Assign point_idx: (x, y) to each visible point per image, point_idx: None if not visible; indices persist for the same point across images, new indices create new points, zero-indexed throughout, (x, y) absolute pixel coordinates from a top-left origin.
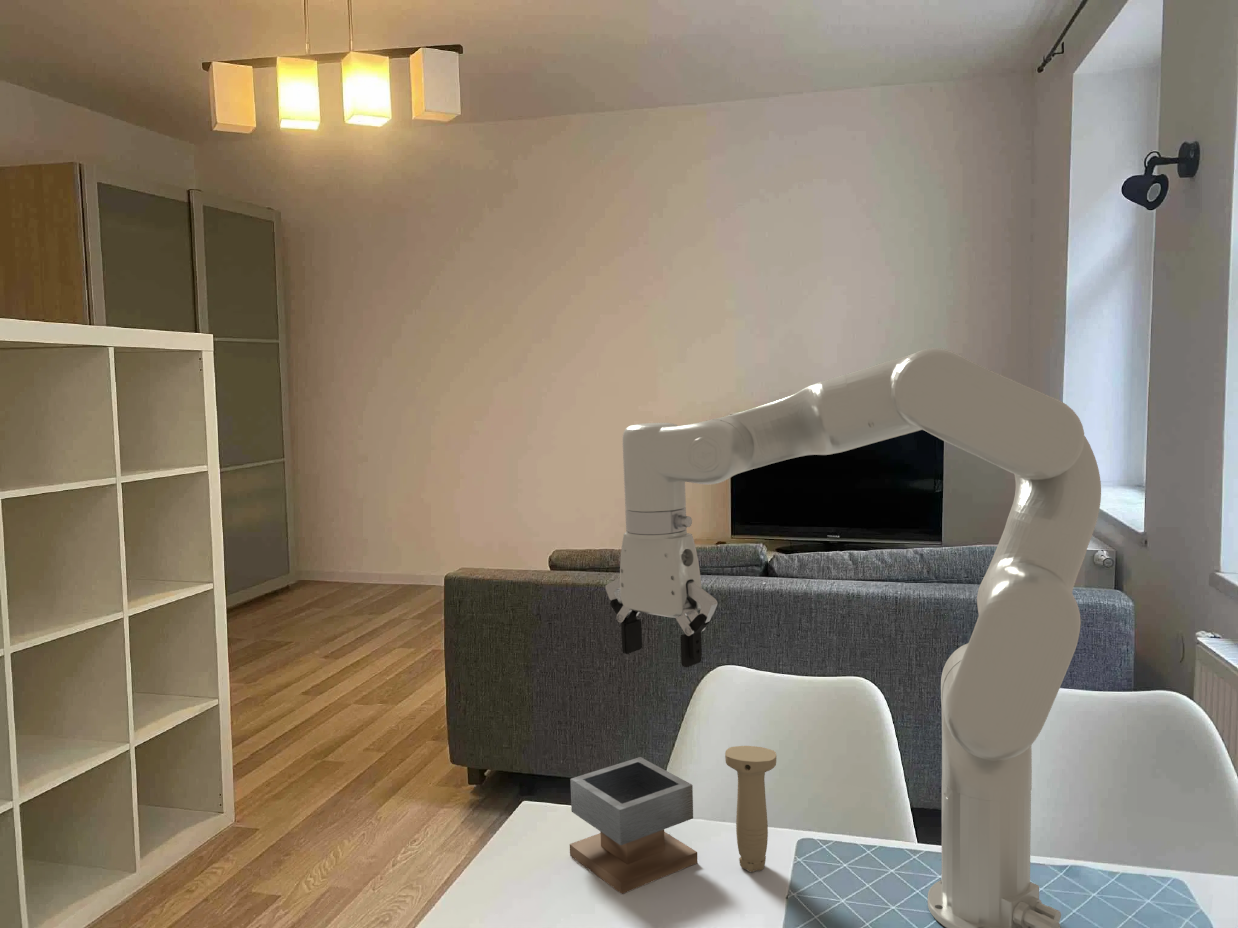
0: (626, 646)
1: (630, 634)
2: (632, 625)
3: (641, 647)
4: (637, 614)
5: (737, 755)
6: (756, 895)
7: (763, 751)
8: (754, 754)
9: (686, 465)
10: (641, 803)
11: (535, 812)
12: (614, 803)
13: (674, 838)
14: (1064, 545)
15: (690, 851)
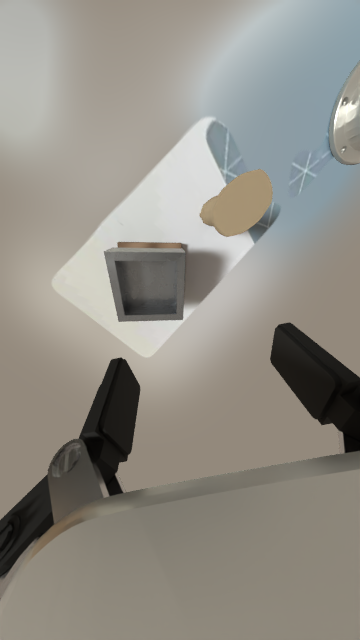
0: (137, 399)
1: (130, 416)
2: (122, 436)
3: (123, 360)
4: (92, 458)
5: (233, 223)
6: (230, 239)
7: (250, 184)
8: (247, 203)
9: None
10: (183, 303)
11: (62, 289)
12: (172, 317)
13: (157, 244)
14: None
15: (177, 247)
